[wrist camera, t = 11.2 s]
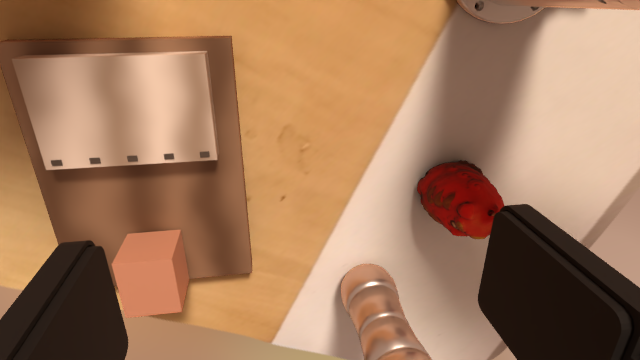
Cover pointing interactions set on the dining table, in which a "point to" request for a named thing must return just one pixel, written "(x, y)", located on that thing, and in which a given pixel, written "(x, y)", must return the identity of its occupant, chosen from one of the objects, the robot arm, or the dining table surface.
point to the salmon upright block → (151, 273)
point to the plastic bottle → (379, 315)
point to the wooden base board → (136, 142)
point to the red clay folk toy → (460, 198)
